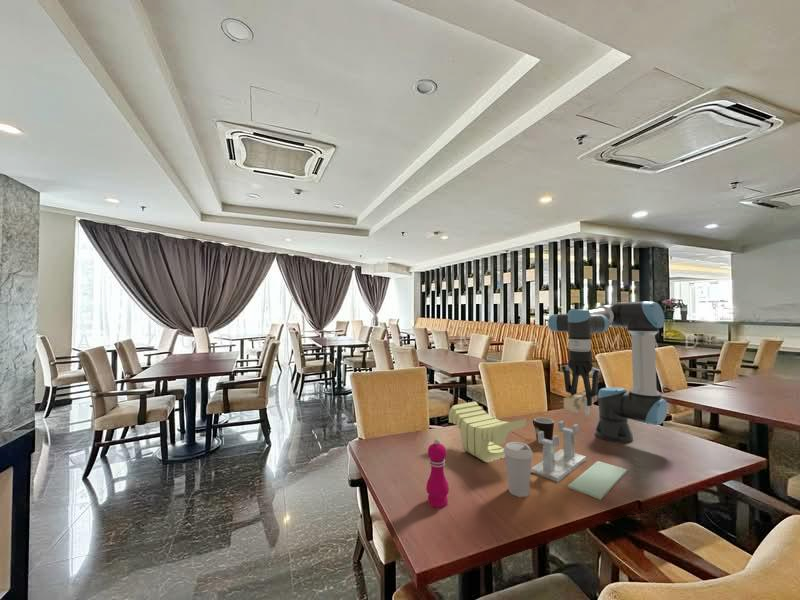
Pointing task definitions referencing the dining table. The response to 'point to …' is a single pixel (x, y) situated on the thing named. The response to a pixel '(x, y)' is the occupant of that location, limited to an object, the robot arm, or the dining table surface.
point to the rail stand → (558, 455)
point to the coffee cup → (518, 468)
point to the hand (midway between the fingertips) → (581, 412)
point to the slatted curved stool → (481, 430)
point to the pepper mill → (437, 476)
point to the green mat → (598, 479)
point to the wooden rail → (576, 401)
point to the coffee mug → (544, 427)
